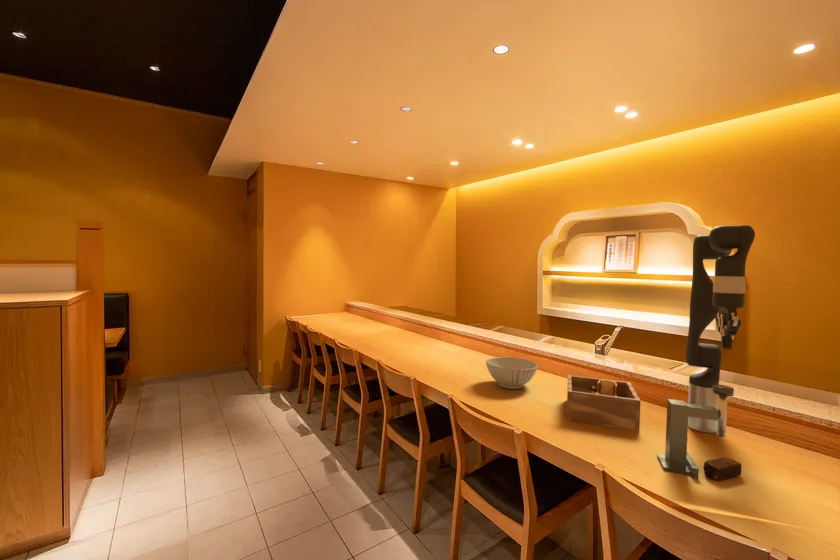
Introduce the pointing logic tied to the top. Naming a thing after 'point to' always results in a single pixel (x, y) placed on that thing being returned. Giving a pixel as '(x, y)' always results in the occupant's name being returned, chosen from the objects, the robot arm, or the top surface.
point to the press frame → (682, 436)
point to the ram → (722, 406)
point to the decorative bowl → (511, 371)
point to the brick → (722, 468)
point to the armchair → (605, 388)
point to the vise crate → (602, 404)
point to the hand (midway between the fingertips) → (726, 348)
